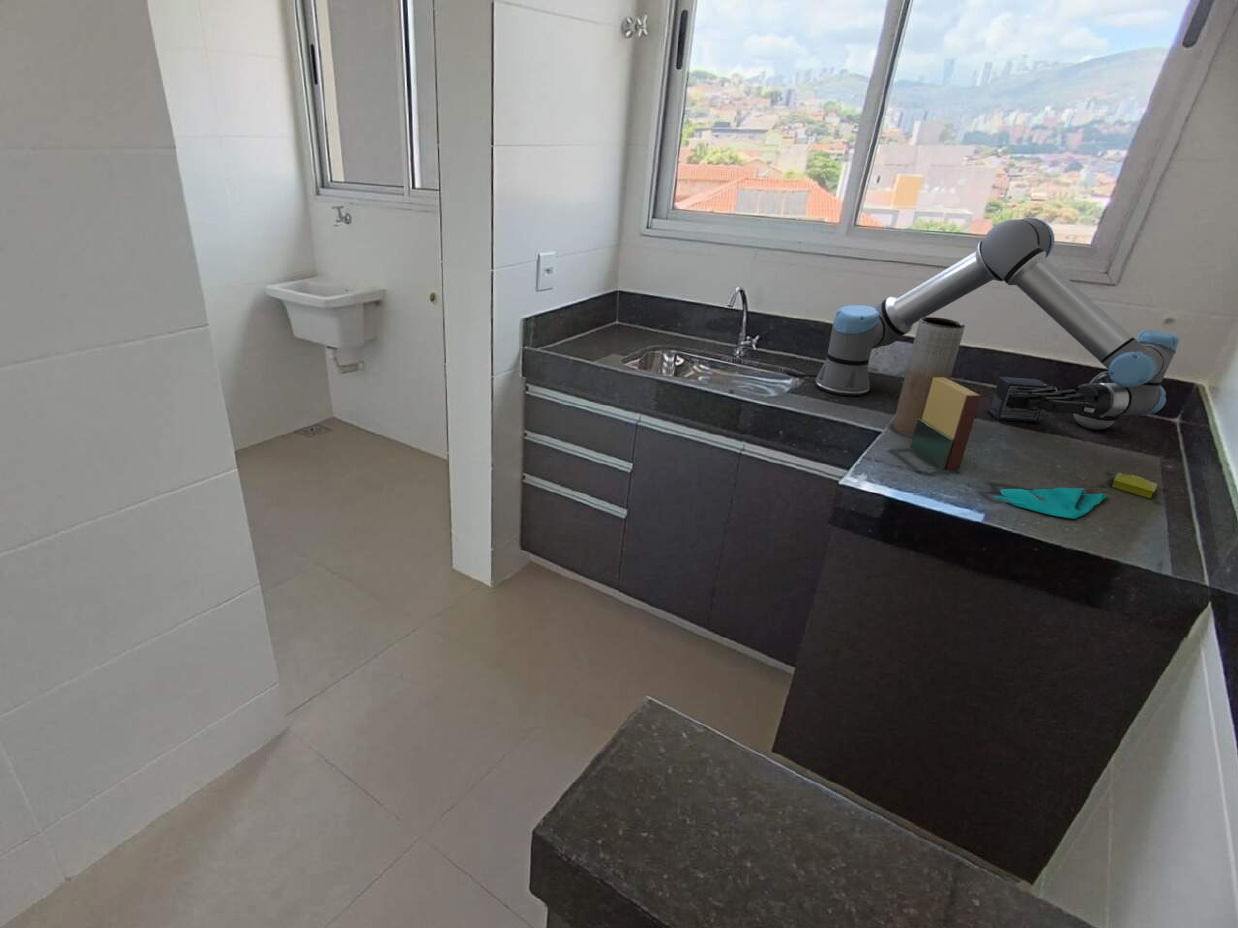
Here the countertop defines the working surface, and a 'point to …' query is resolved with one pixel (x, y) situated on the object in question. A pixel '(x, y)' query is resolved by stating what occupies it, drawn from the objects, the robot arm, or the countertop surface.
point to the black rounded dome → (1097, 421)
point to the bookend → (931, 444)
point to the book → (951, 415)
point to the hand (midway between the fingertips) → (1009, 401)
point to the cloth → (1053, 500)
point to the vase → (927, 367)
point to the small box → (1013, 387)
